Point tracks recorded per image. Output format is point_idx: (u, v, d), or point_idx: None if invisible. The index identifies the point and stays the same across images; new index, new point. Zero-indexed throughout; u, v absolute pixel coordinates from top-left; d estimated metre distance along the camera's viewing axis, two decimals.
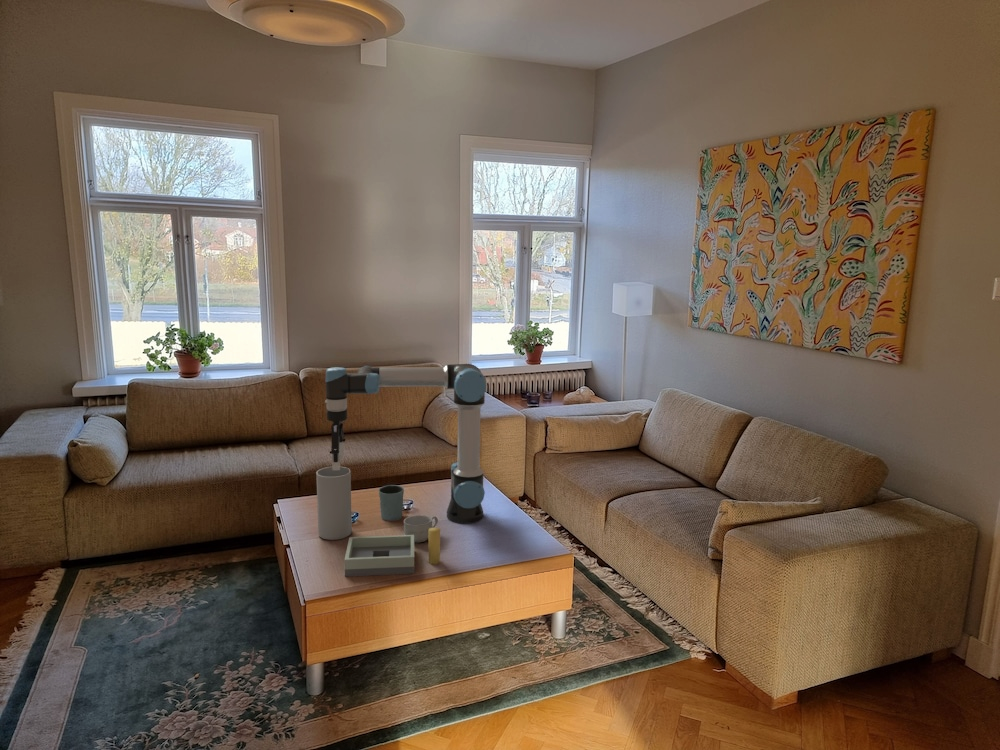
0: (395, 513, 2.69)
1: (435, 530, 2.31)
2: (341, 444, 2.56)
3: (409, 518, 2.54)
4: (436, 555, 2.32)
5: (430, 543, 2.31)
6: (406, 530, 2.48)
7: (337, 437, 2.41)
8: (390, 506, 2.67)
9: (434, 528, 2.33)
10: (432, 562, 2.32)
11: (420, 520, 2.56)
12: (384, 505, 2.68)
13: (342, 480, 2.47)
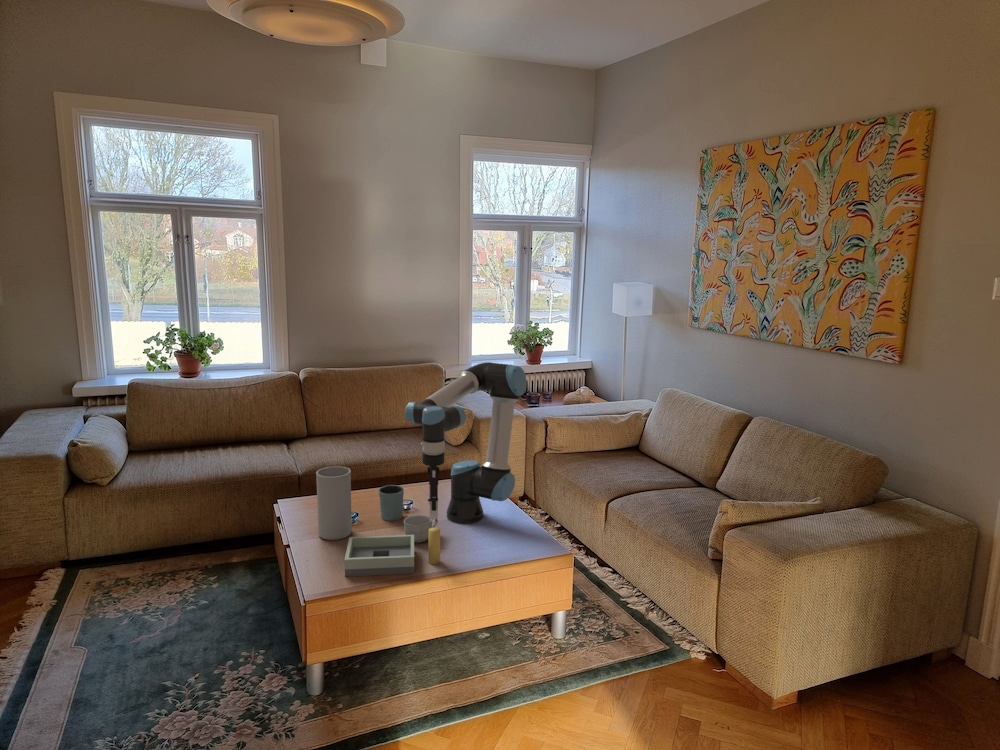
0: (395, 513, 2.69)
1: (435, 530, 2.31)
2: None
3: (409, 518, 2.54)
4: (436, 555, 2.32)
5: (430, 543, 2.31)
6: (406, 530, 2.48)
7: (436, 483, 2.21)
8: (390, 506, 2.67)
9: (434, 528, 2.33)
10: (432, 562, 2.32)
11: (420, 520, 2.56)
12: (384, 505, 2.68)
13: (342, 480, 2.47)
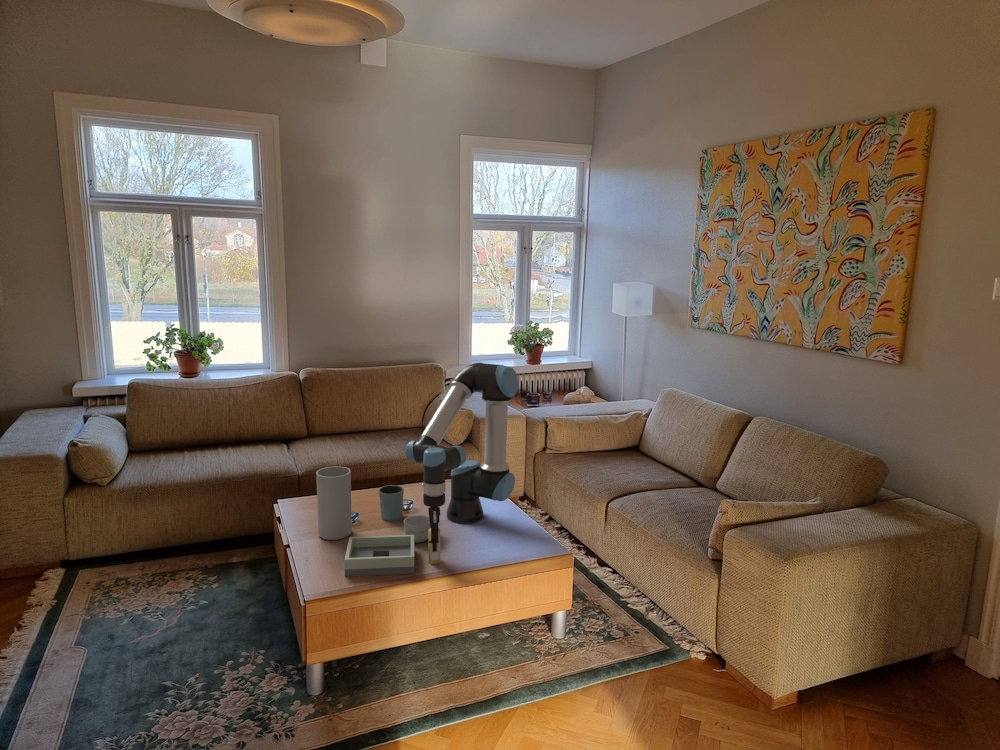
0: (395, 513, 2.69)
1: None
2: None
3: (409, 518, 2.54)
4: None
5: (430, 543, 2.31)
6: (406, 530, 2.48)
7: (437, 528, 2.26)
8: (390, 506, 2.67)
9: None
10: (432, 562, 2.32)
11: (420, 520, 2.56)
12: (384, 505, 2.68)
13: (342, 480, 2.47)
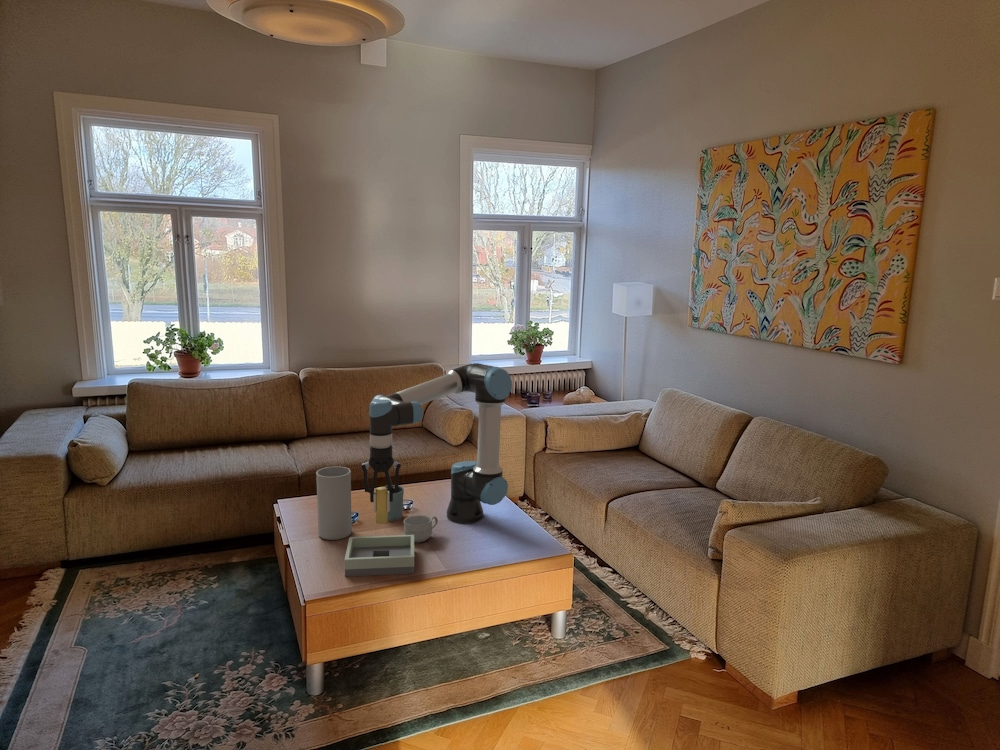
0: (395, 513, 2.69)
1: (379, 489, 2.29)
2: (387, 495, 2.29)
3: (409, 518, 2.54)
4: (376, 513, 2.30)
5: None
6: (406, 530, 2.48)
7: None
8: (390, 506, 2.67)
9: (384, 489, 2.29)
10: None
11: (420, 520, 2.56)
12: None
13: (342, 480, 2.47)
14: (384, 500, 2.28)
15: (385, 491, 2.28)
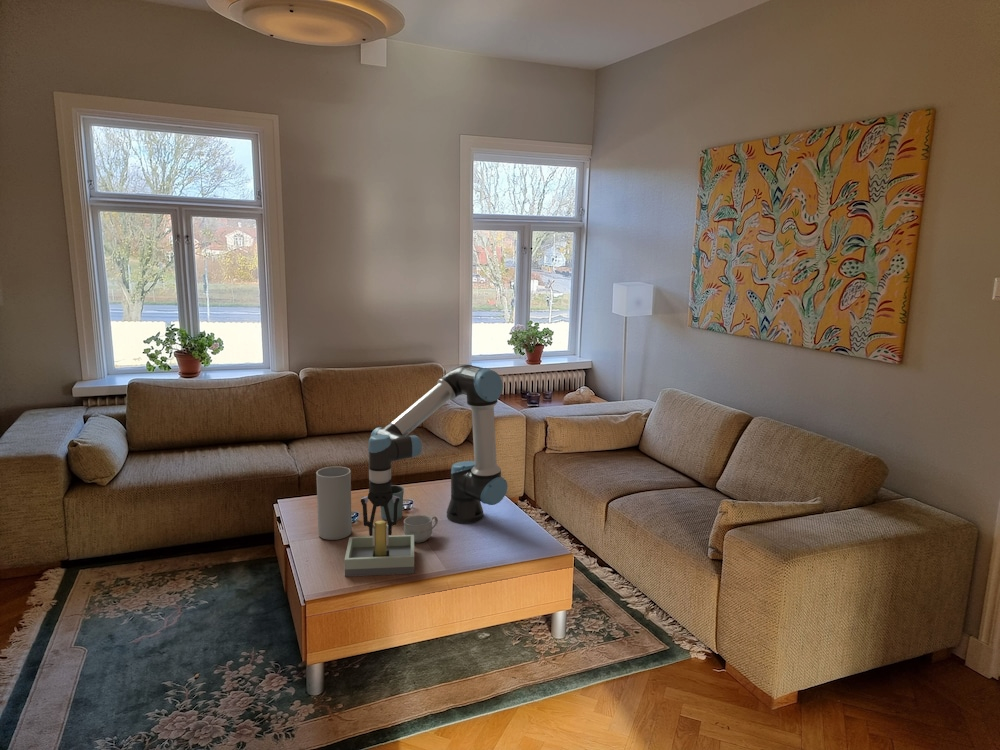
0: None
1: (378, 523, 2.31)
2: (386, 528, 2.31)
3: (409, 518, 2.54)
4: (375, 547, 2.32)
5: None
6: (406, 530, 2.48)
7: None
8: (390, 506, 2.67)
9: (383, 523, 2.31)
10: None
11: (420, 520, 2.56)
12: None
13: (342, 480, 2.47)
14: (383, 534, 2.31)
15: (384, 525, 2.30)
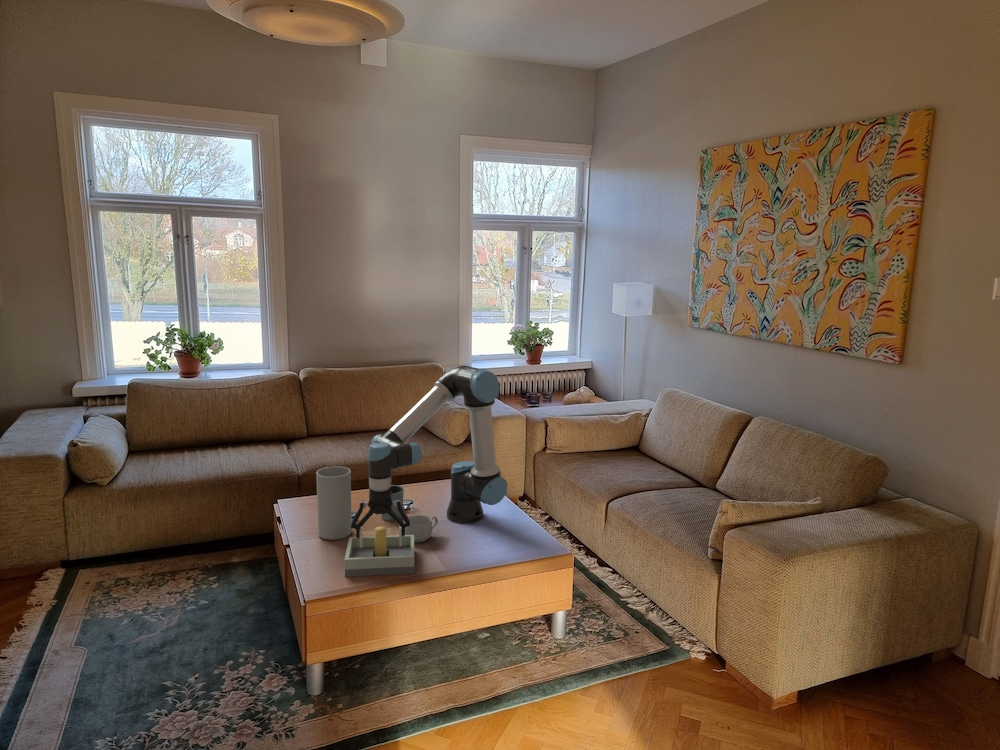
0: None
1: (378, 529, 2.31)
2: (399, 530, 2.32)
3: (409, 518, 2.54)
4: (375, 553, 2.32)
5: None
6: (406, 530, 2.48)
7: (357, 513, 2.29)
8: None
9: (383, 528, 2.32)
10: None
11: (420, 520, 2.56)
12: None
13: (342, 480, 2.47)
14: (383, 540, 2.31)
15: (384, 531, 2.31)
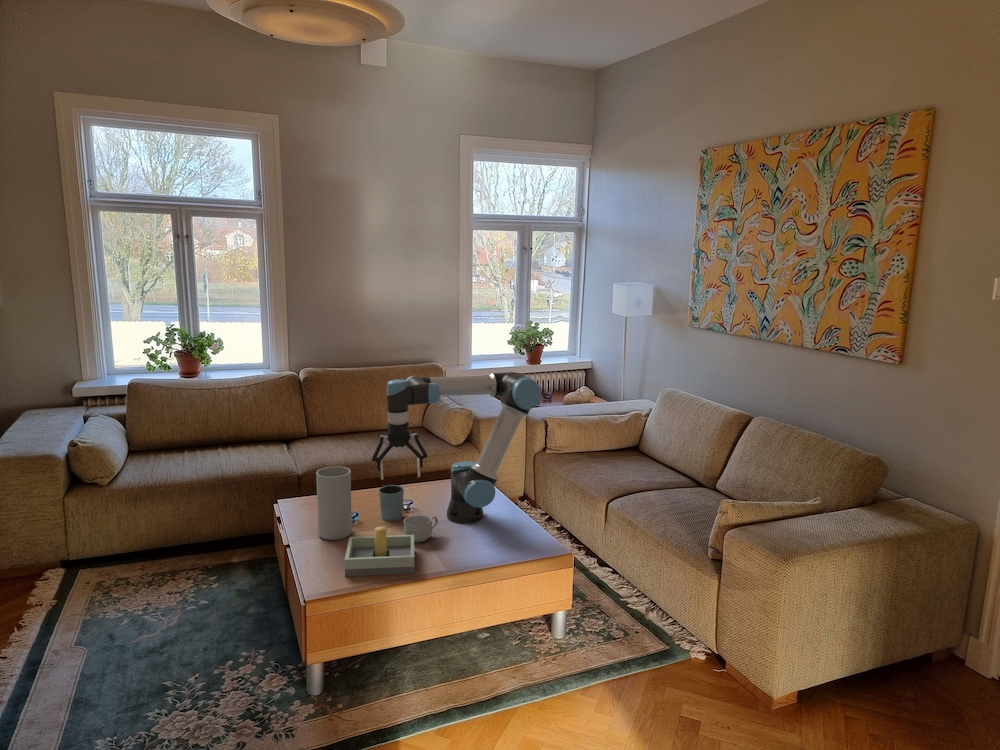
0: (395, 513, 2.69)
1: (378, 529, 2.31)
2: (417, 461, 2.47)
3: (409, 518, 2.54)
4: (375, 553, 2.32)
5: None
6: (406, 530, 2.48)
7: (377, 446, 2.43)
8: (390, 506, 2.67)
9: (383, 528, 2.32)
10: None
11: (420, 520, 2.56)
12: (384, 505, 2.68)
13: (342, 480, 2.47)
14: (383, 540, 2.31)
15: (384, 531, 2.31)
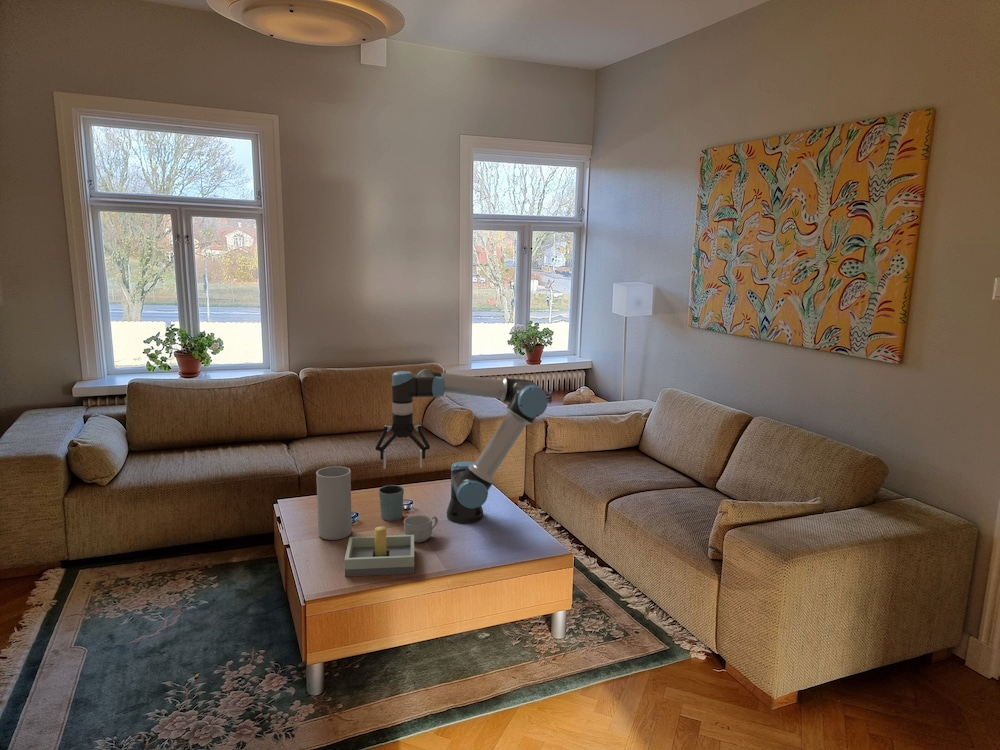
0: (395, 513, 2.69)
1: (378, 529, 2.31)
2: (420, 452, 2.51)
3: (409, 518, 2.54)
4: (375, 553, 2.32)
5: None
6: (406, 530, 2.48)
7: (381, 436, 2.48)
8: (390, 506, 2.67)
9: (383, 528, 2.32)
10: None
11: (420, 520, 2.56)
12: (384, 505, 2.68)
13: (342, 480, 2.47)
14: (383, 540, 2.31)
15: (384, 531, 2.31)
